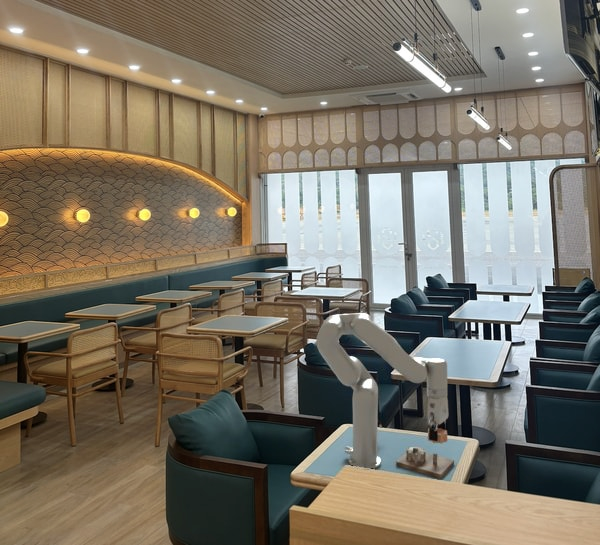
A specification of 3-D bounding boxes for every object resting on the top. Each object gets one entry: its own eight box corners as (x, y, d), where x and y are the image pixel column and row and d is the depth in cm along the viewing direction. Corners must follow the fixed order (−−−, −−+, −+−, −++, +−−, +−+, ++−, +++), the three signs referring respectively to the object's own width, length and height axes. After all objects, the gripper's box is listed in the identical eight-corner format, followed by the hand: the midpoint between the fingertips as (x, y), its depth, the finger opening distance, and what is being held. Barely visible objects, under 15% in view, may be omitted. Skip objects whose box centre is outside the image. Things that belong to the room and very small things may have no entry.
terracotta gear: (424, 440, 199) (424, 432, 199) (431, 434, 205) (431, 426, 205) (443, 445, 195) (443, 436, 195) (450, 438, 201) (450, 430, 201)
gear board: (396, 465, 203) (396, 449, 203) (410, 452, 215) (411, 437, 214) (440, 478, 193) (441, 462, 192) (454, 463, 204) (454, 448, 203)
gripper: (438, 400, 189) (438, 447, 191) (454, 386, 203) (454, 430, 205) (418, 396, 194) (419, 442, 195) (436, 383, 208) (436, 426, 209)
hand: (437, 436), depth 200 cm, fingers closed on terracotta gear, 7 cm apart
